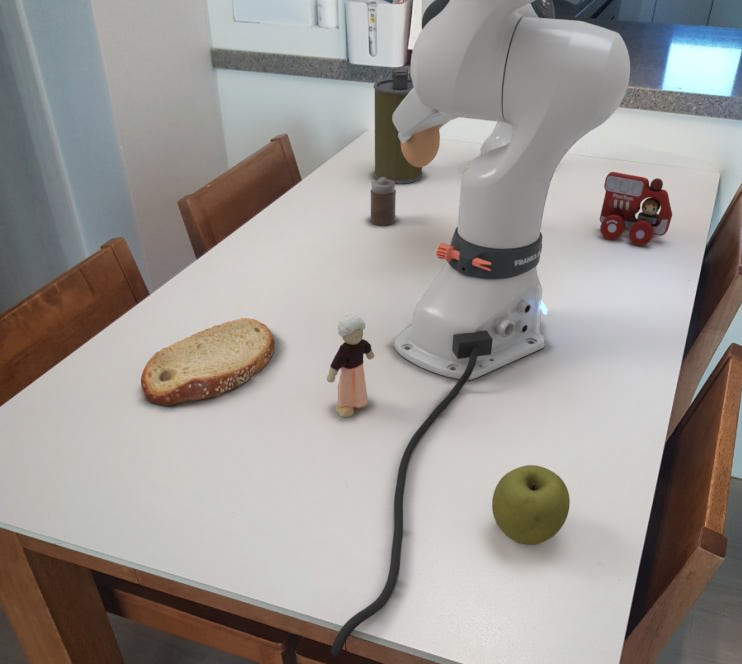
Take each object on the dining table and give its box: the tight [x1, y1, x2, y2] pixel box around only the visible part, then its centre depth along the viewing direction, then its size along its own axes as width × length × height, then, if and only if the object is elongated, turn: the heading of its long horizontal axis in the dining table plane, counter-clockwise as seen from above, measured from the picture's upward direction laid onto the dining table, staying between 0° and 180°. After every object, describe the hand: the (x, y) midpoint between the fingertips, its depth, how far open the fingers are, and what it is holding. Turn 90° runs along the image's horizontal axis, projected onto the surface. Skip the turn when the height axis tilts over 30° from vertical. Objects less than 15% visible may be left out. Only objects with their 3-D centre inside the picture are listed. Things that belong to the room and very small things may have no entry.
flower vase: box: [479, 122, 513, 155], centre depth 155 cm, size 13×18×25 cm
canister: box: [373, 67, 424, 185], centre depth 153 cm, size 11×10×20 cm
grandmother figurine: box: [326, 314, 375, 418], centre depth 91 cm, size 8×4×13 cm, turn 148°
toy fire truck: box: [599, 171, 673, 247], centre depth 132 cm, size 7×12×10 cm, turn 60°
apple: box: [491, 464, 571, 546], centre depth 76 cm, size 8×8×7 cm
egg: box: [401, 125, 441, 168], centre depth 126 cm, size 7×7×9 cm
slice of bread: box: [140, 317, 276, 406], centre depth 101 cm, size 18×18×4 cm
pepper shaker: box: [370, 177, 397, 227], centre depth 138 cm, size 5×5×8 cm
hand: (417, 133), depth 126 cm, fingers closed on egg, 6 cm apart
